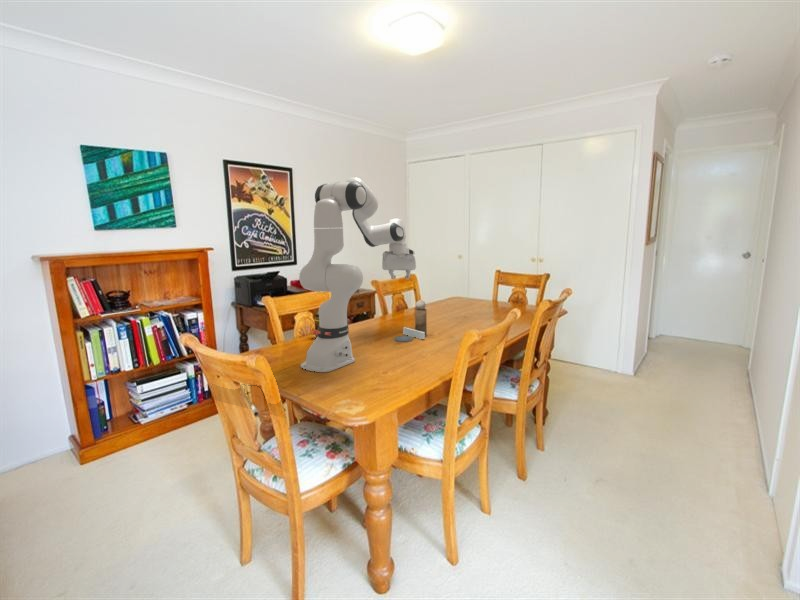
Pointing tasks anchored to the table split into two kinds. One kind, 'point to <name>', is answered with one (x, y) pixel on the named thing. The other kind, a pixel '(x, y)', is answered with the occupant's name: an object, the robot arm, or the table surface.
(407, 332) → the acrylic wall
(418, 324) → the peg
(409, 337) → the mat
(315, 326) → the condiment
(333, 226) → the robot arm
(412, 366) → the table surface
